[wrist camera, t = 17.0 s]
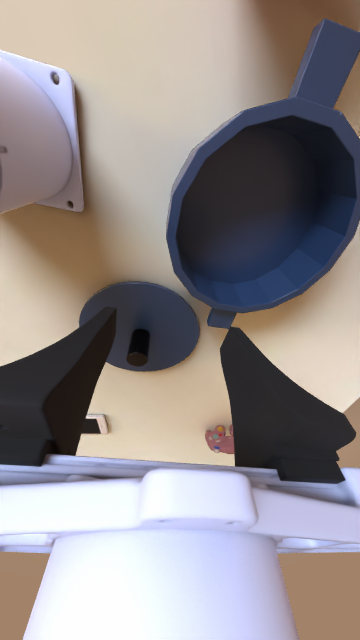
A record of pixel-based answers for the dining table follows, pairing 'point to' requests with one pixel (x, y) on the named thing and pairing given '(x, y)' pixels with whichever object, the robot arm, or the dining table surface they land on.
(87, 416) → the cell phone
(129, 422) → the dining table surface
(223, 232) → the pot
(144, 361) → the pot lid
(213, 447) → the video game controller
